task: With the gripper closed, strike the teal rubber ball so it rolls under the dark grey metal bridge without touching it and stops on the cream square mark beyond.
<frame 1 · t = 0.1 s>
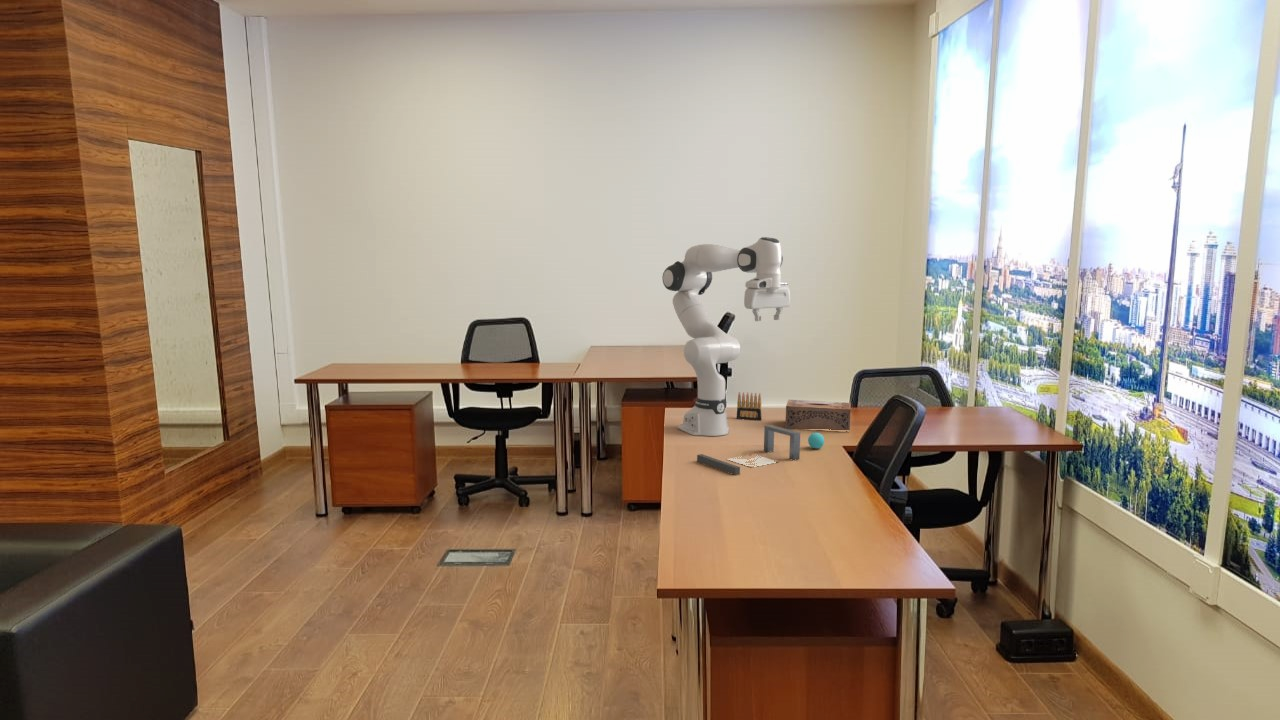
hand: (767, 320, 299), 48 cm above the table, tool pointing down, fingers open, 8 cm apart
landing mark: (752, 461, 287), on the table
bridge: (781, 455, 295), on the table
stopper: (717, 467, 278), on the table
ball: (816, 440, 305), on the table
ammunition clip: (748, 419, 356), on the table
tissue box cover: (817, 428, 342), on the table
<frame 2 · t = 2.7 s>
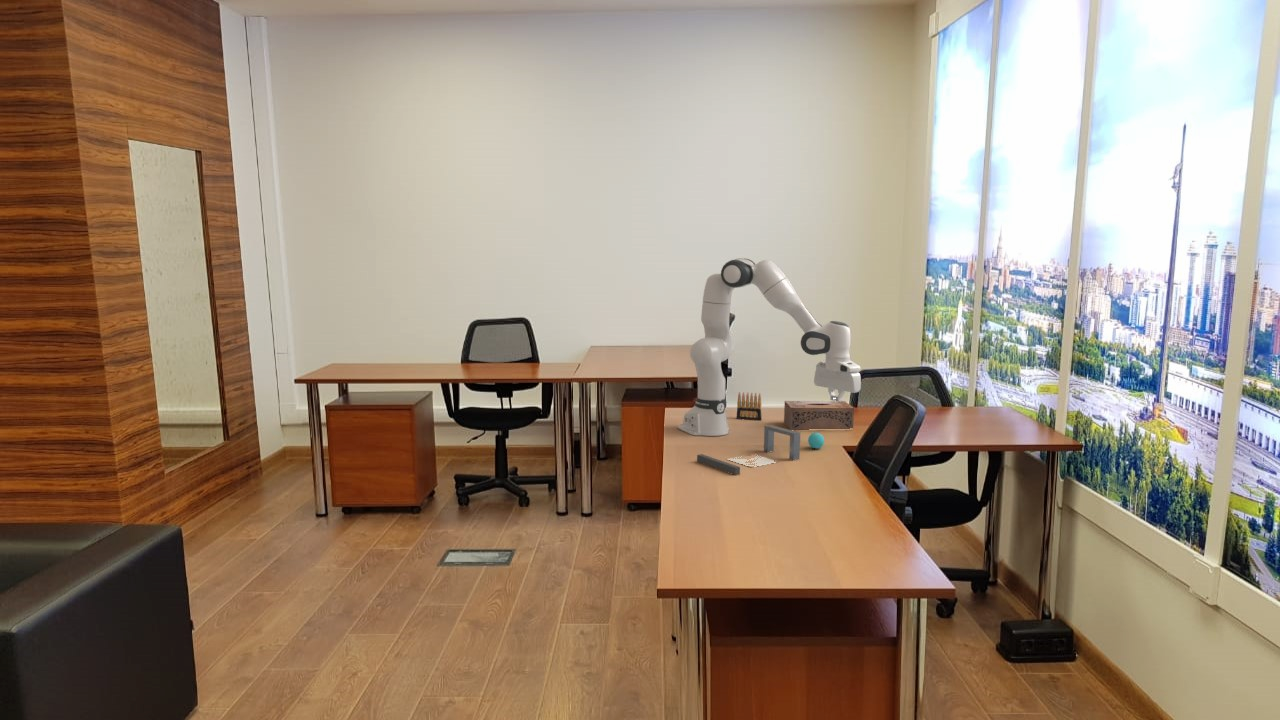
hand: (835, 400, 309), 17 cm above the table, tool pointing down, fingers closed
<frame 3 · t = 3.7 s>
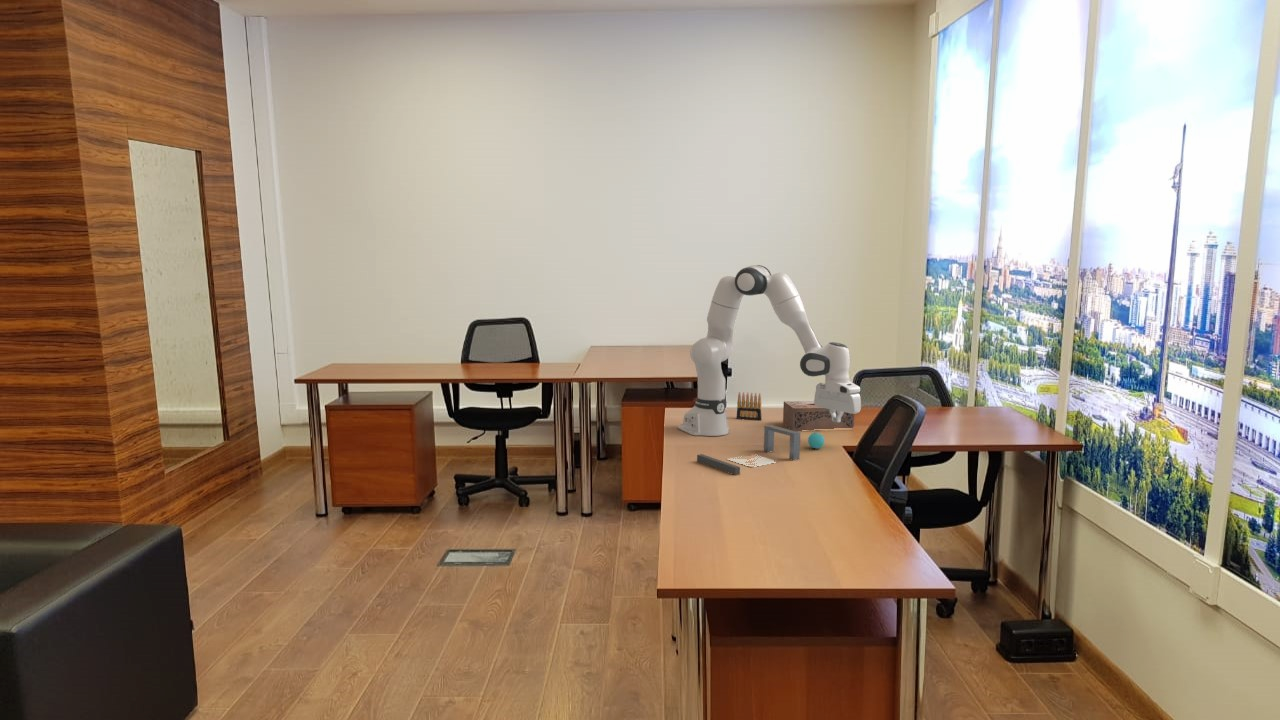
hand: (836, 421, 310), 9 cm above the table, tool pointing down, fingers closed
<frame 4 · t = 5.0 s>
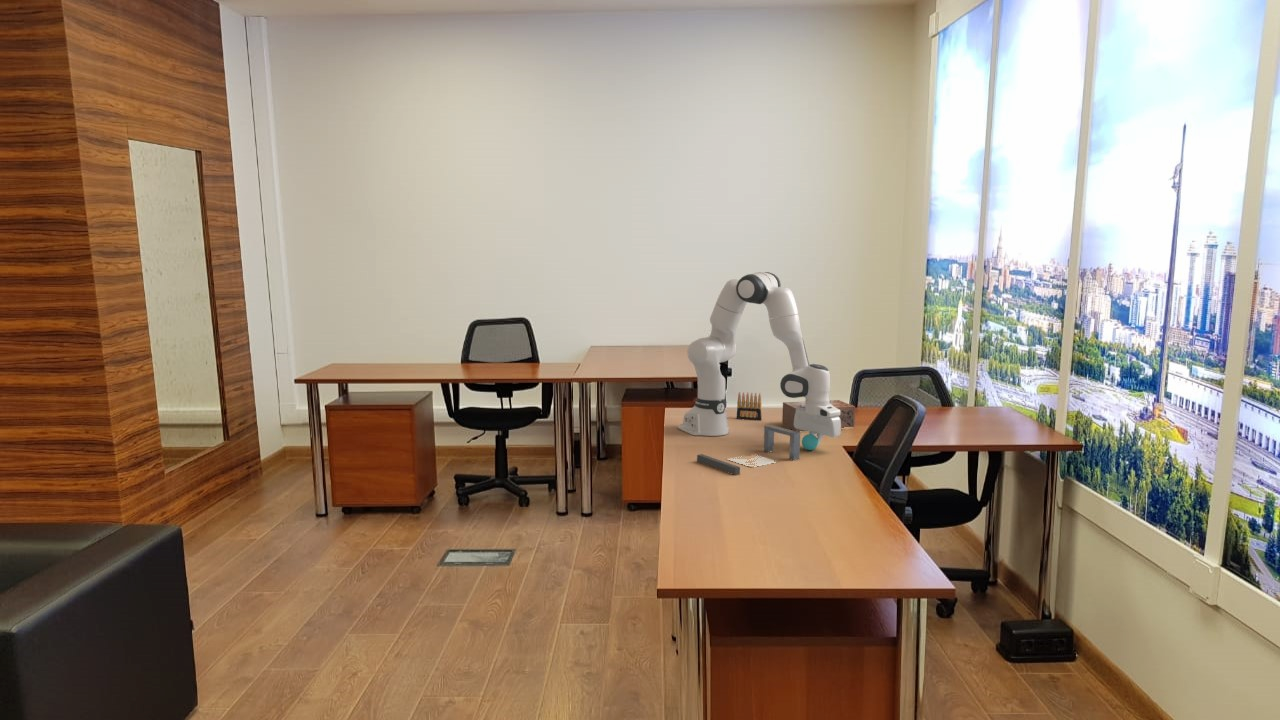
hand: (815, 444, 306), 1 cm above the table, tool pointing down, fingers closed
ball: (809, 442, 303), on the table, touching gripper
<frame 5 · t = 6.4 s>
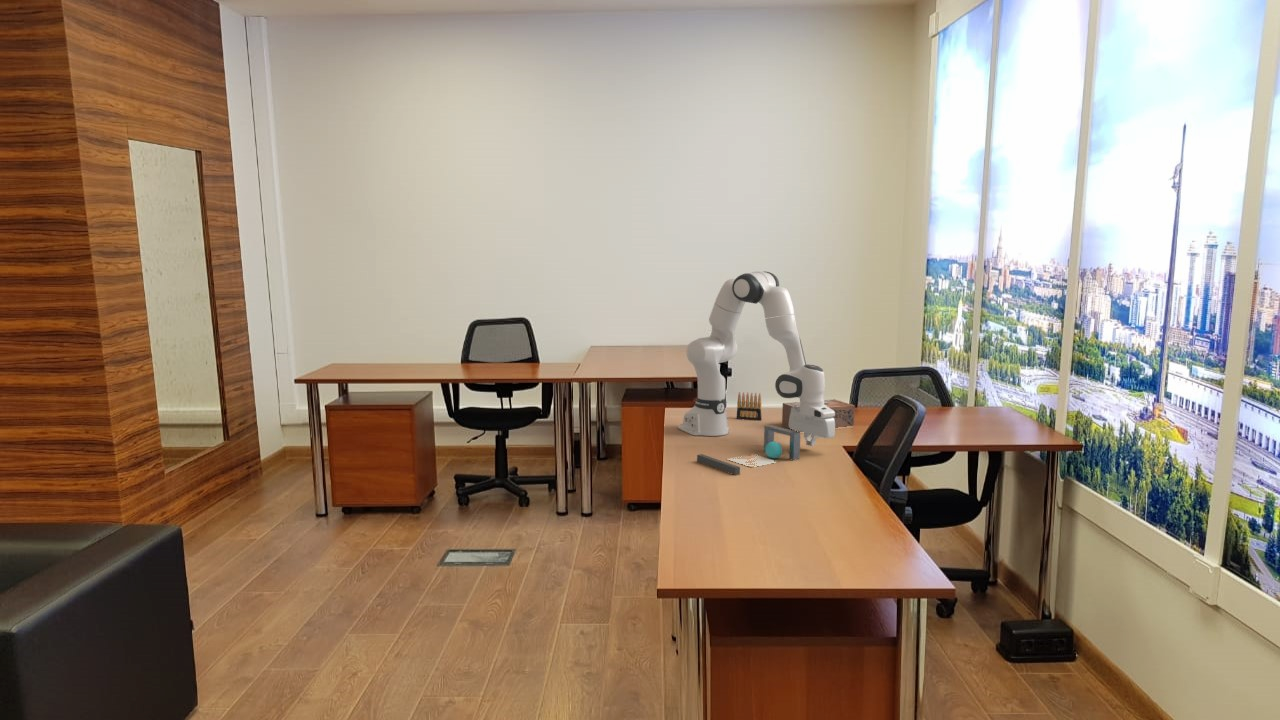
hand: (810, 445, 304), 2 cm above the table, tool pointing down, fingers closed
ball: (773, 449, 291), on the table
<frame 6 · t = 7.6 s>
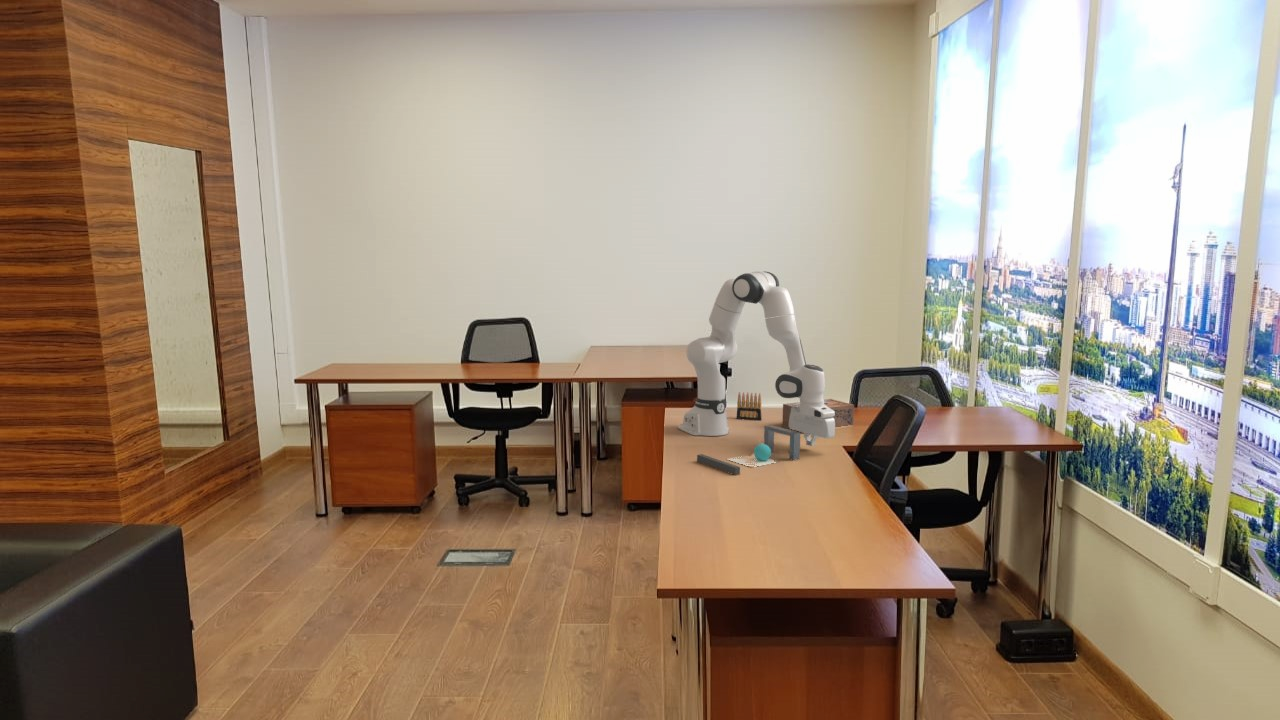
hand: (810, 445, 304), 2 cm above the table, tool pointing down, fingers closed
ball: (762, 452, 287), on the table
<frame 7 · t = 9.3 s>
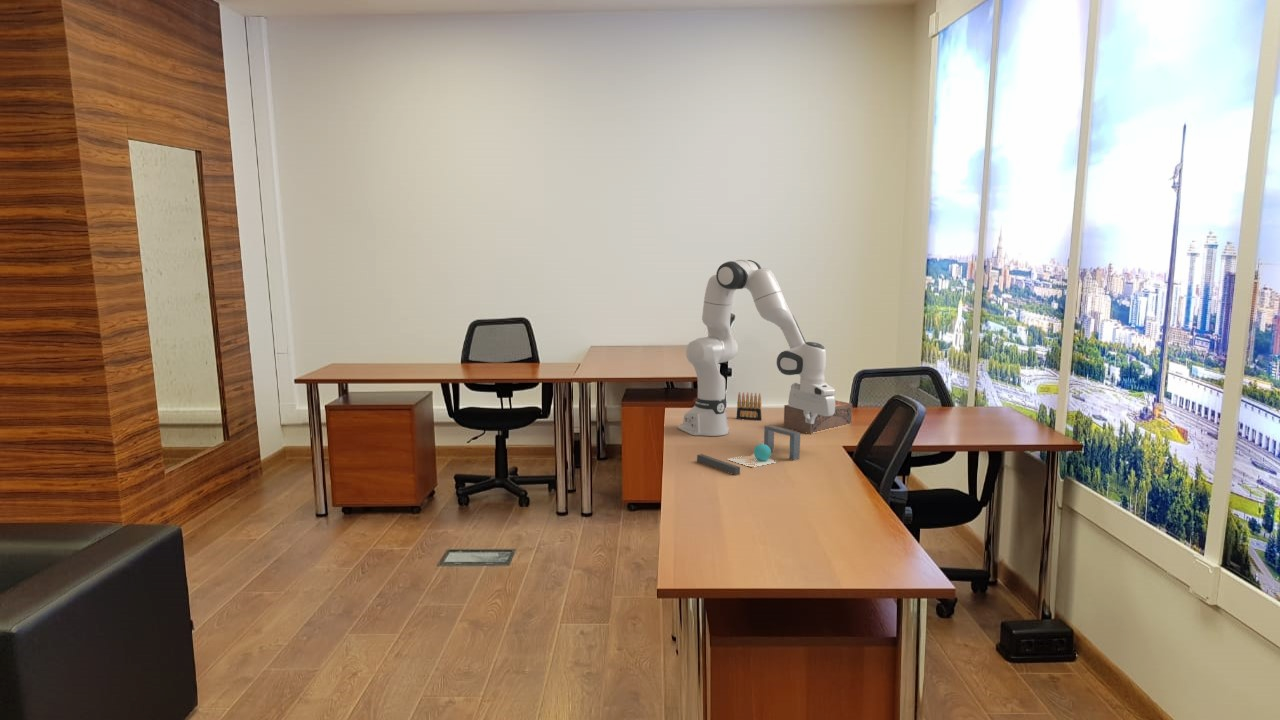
hand: (809, 423, 303), 10 cm above the table, tool pointing down, fingers closed
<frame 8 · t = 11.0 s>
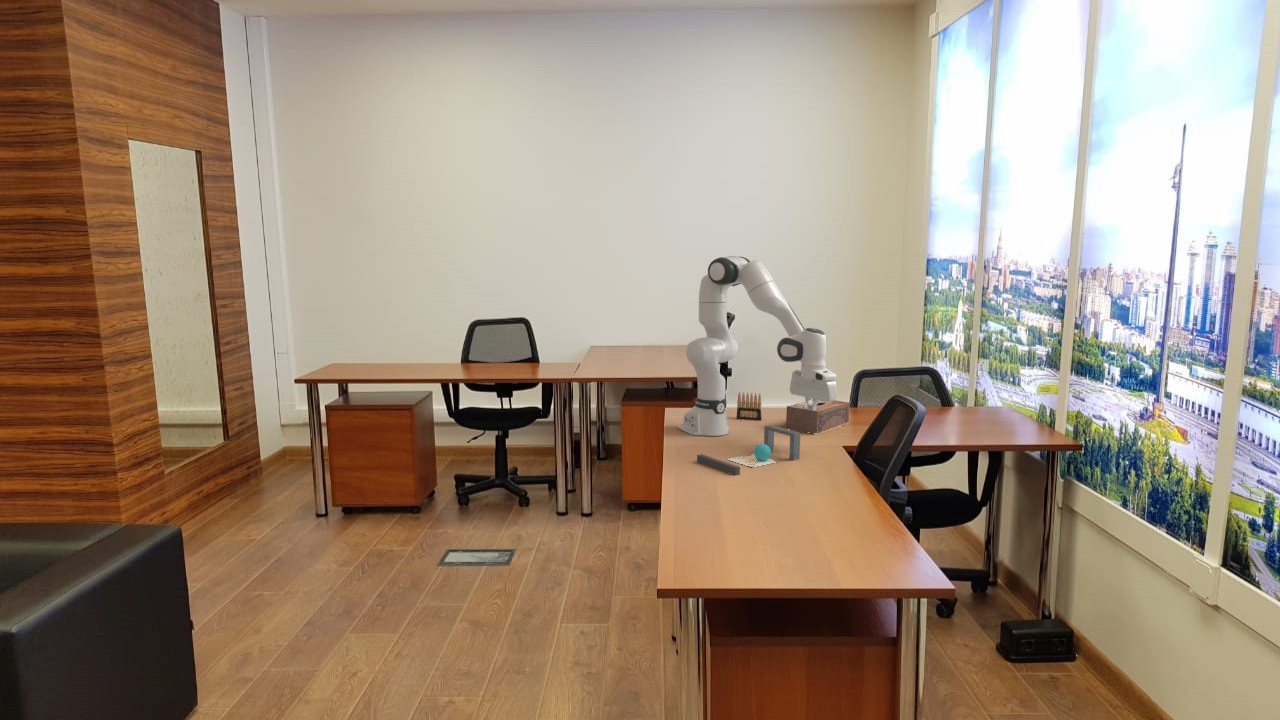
hand: (811, 409, 302), 15 cm above the table, tool pointing down, fingers closed
at the end: ball 3.5 cm from the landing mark (horizontally); ball never touched bridge; ball at rest at the end (0.0 cm/s) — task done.
